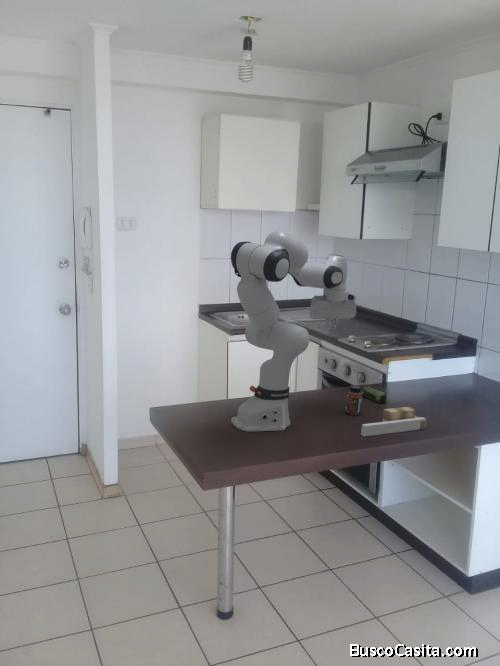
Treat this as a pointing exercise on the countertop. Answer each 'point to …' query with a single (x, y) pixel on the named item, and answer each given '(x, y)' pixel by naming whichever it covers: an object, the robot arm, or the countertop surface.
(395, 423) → the board
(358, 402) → the supplement bottle
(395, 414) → the long beige block
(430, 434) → the countertop surface
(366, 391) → the vegetable
